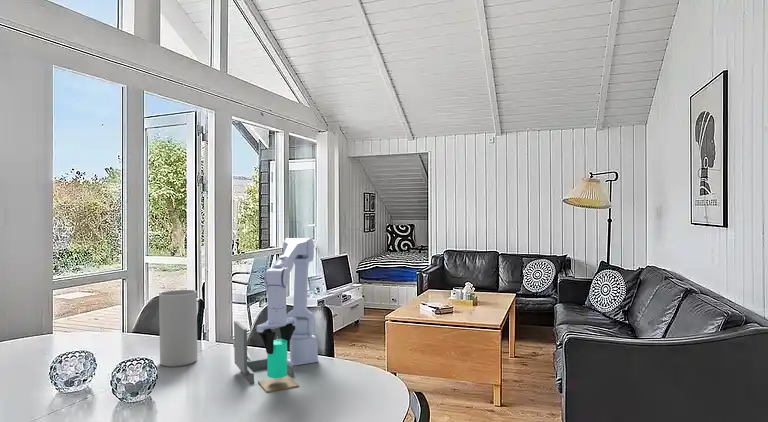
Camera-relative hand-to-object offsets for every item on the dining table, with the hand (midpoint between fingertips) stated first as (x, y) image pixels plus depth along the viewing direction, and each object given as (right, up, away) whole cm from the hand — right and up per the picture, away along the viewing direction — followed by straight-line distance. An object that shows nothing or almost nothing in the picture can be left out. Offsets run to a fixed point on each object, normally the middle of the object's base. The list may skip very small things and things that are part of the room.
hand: (277, 351), depth 160 cm
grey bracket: (-7, -10, +11) cm, 17 cm away
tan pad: (0, -10, 0) cm, 10 cm away
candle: (0, -8, 0) cm, 8 cm away
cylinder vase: (-41, -11, +26) cm, 49 cm away
